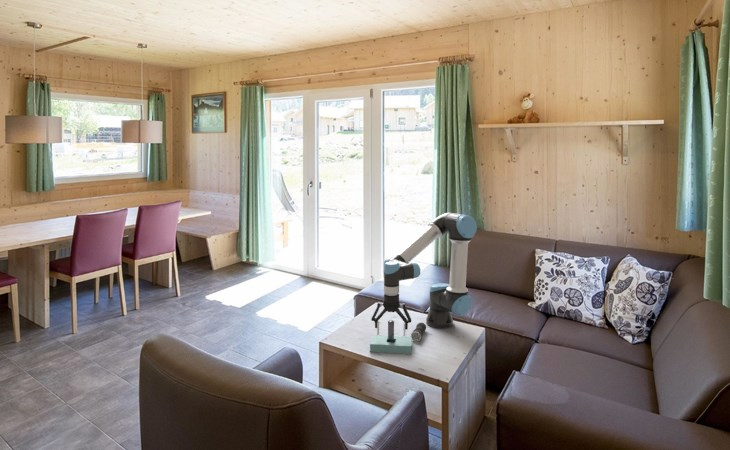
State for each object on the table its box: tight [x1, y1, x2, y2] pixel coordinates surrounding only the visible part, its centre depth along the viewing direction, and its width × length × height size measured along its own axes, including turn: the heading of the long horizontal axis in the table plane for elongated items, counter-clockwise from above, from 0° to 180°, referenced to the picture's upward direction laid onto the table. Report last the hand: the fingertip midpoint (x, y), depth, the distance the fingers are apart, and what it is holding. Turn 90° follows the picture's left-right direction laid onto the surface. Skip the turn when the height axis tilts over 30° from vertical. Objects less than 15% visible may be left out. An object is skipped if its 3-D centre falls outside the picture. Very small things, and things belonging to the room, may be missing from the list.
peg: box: [387, 319, 395, 343], centre depth 221 cm, size 3×3×14 cm
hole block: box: [369, 334, 413, 355], centre depth 222 cm, size 20×11×4 cm, turn 82°
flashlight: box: [410, 322, 427, 342], centre depth 237 cm, size 15×5×5 cm, turn 161°
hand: (391, 334), depth 221 cm, fingers open, 12 cm apart
